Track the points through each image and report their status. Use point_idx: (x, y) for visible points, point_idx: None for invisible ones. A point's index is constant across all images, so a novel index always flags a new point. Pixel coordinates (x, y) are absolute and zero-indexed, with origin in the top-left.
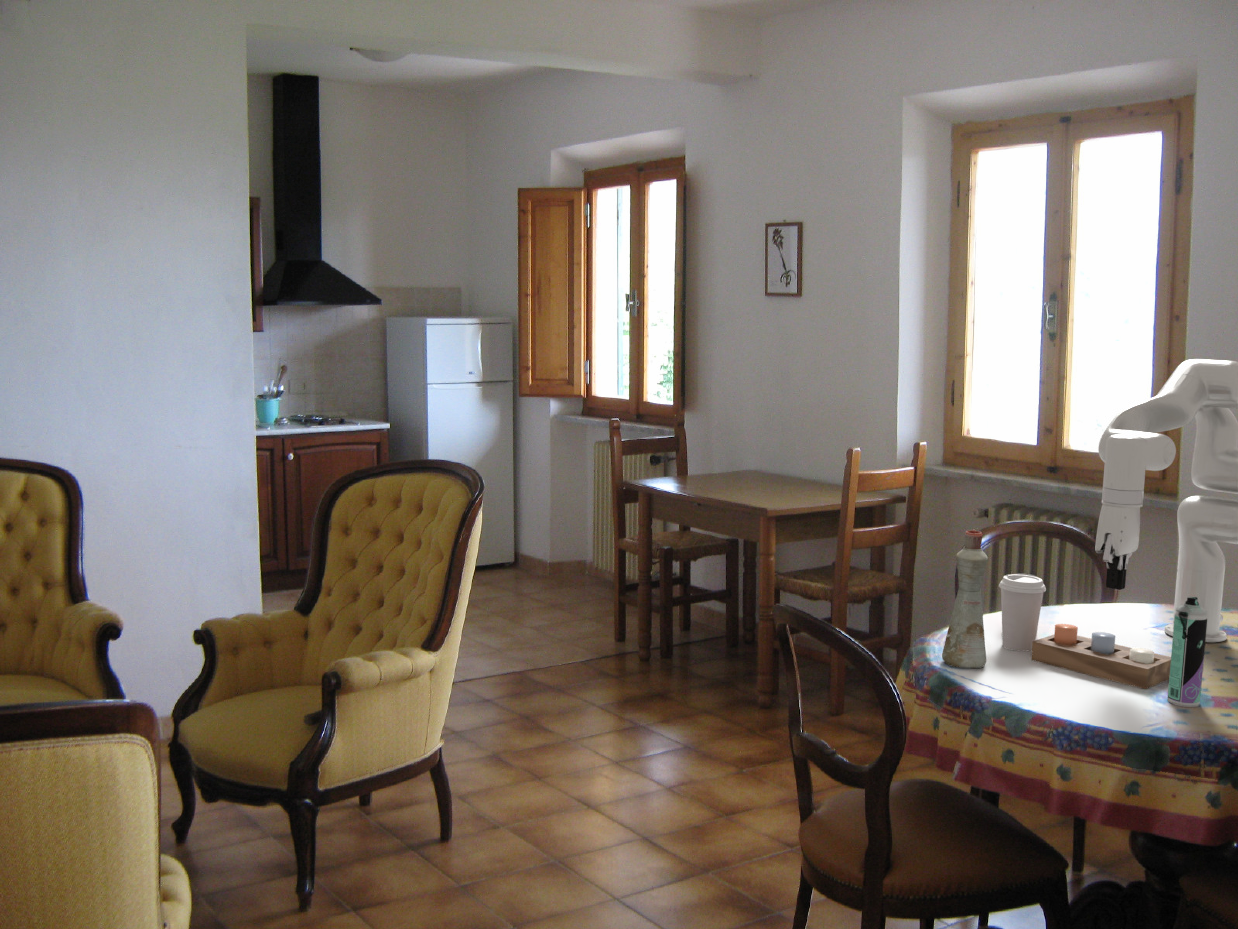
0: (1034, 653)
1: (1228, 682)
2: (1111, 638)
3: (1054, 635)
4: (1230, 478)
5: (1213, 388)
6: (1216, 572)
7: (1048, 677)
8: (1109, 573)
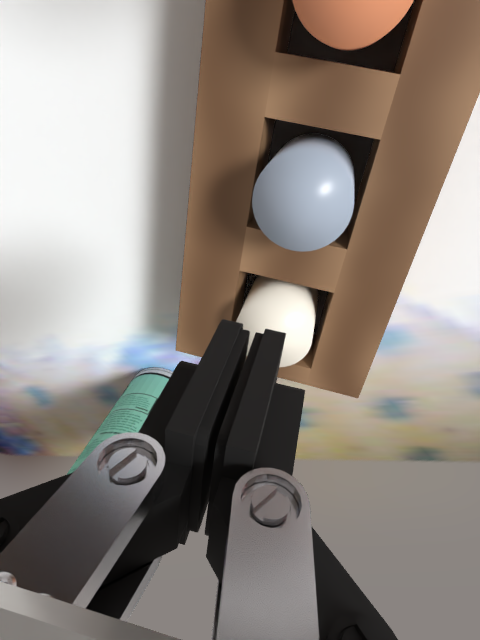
0: None
1: (400, 460)
2: (275, 242)
3: None
4: None
5: None
6: None
7: (84, 49)
8: (149, 416)
